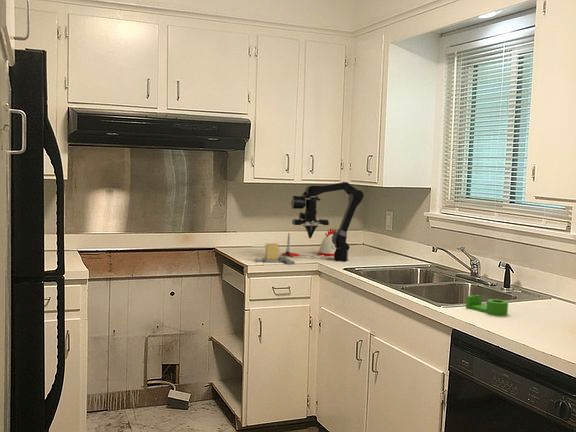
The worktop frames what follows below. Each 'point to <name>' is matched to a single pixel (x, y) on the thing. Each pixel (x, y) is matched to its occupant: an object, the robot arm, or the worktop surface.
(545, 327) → the worktop surface
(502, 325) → the worktop surface
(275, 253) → the yellow block
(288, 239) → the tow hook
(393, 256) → the worktop surface
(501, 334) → the worktop surface
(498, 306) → the green ring bracket
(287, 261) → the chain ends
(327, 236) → the kitchen timer
